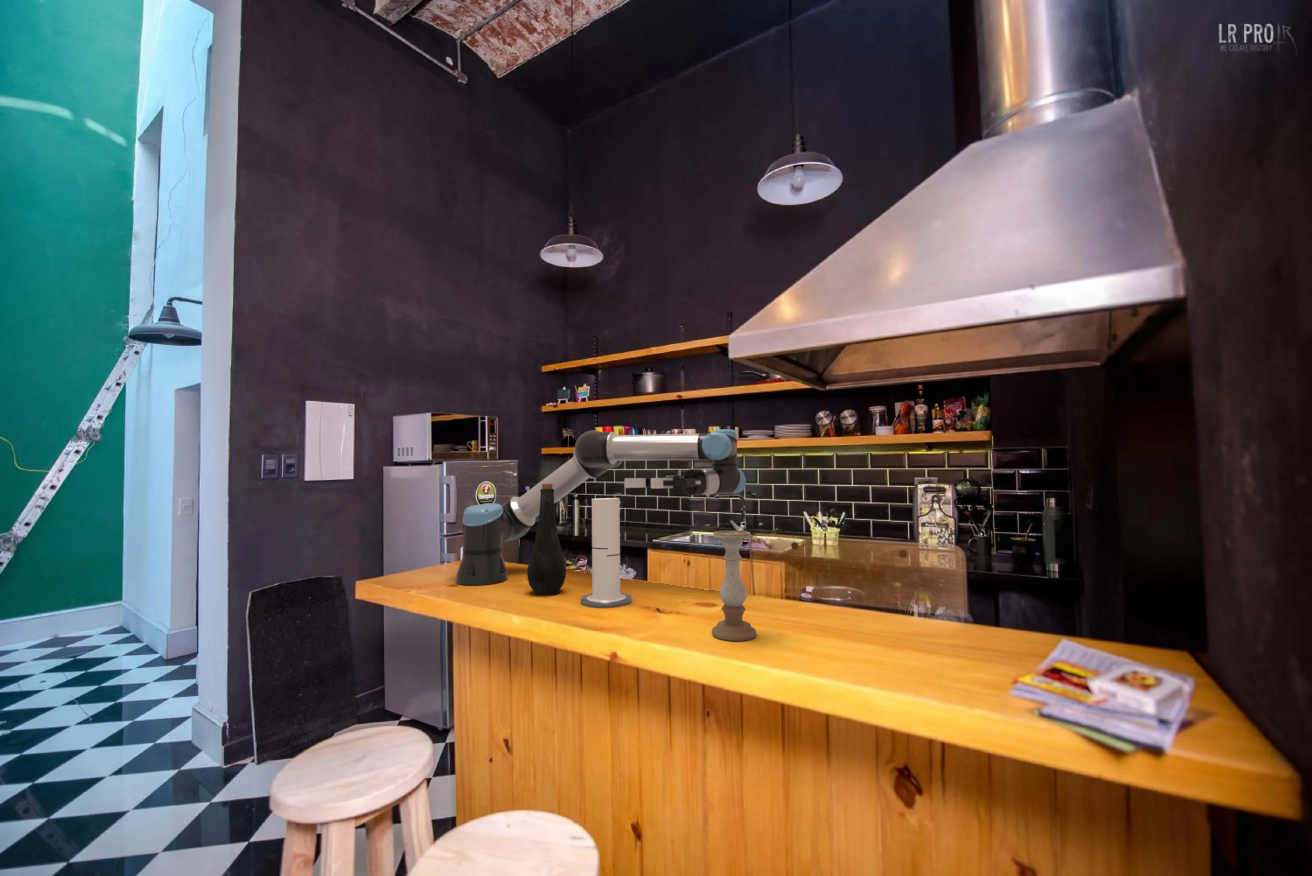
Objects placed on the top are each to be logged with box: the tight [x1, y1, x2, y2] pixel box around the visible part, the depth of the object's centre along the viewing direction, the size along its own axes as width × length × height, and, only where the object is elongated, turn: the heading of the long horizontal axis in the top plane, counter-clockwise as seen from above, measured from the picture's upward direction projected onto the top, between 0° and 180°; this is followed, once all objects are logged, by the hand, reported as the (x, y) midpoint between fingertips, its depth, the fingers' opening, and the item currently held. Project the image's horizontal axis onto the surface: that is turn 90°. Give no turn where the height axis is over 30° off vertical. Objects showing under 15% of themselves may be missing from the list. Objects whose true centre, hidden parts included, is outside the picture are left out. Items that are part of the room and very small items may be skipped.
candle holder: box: [711, 530, 757, 642], centre depth 106 cm, size 9×9×20 cm
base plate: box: [580, 592, 633, 609], centre depth 134 cm, size 13×13×1 cm
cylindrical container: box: [591, 497, 621, 600], centre depth 135 cm, size 7×7×25 cm
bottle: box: [526, 484, 567, 597], centre depth 146 cm, size 11×11×30 cm
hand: (637, 483), depth 142 cm, fingers open, 13 cm apart
